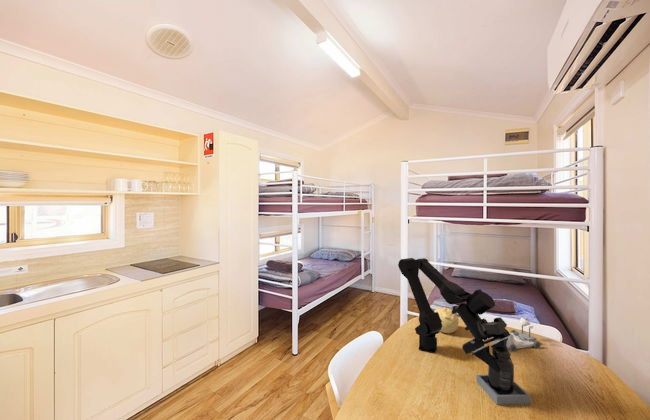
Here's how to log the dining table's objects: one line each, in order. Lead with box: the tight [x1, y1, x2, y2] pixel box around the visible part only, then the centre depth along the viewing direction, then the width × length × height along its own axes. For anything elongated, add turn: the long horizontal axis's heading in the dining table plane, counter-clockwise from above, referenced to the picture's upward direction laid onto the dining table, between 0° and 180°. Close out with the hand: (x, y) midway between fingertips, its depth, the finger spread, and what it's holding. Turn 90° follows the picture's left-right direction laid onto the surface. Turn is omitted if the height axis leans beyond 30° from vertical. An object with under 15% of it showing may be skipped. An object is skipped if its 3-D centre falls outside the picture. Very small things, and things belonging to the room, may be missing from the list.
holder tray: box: [476, 374, 531, 406], centre depth 83 cm, size 10×10×2 cm
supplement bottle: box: [487, 347, 515, 394], centre depth 83 cm, size 7×7×12 cm
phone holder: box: [504, 317, 542, 353], centre depth 113 cm, size 18×10×12 cm
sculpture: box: [433, 306, 459, 334], centre depth 125 cm, size 12×12×11 cm
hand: (505, 368), depth 81 cm, fingers closed on supplement bottle, 7 cm apart
